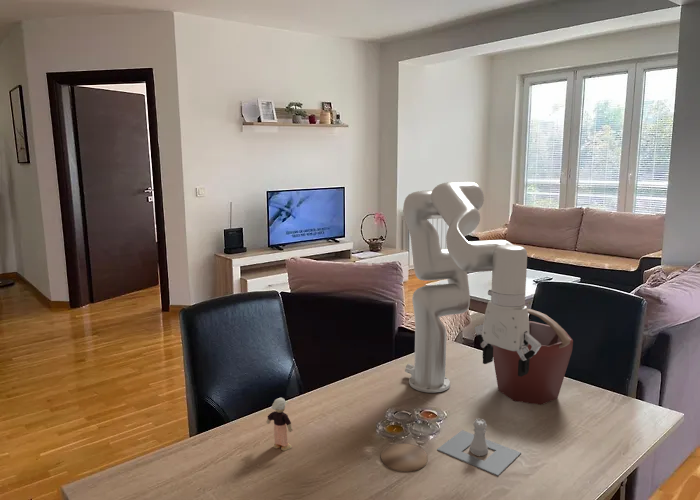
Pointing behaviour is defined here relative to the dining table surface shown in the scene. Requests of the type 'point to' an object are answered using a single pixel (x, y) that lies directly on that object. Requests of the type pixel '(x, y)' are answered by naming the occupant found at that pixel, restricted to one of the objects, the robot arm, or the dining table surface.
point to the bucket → (535, 364)
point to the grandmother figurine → (280, 424)
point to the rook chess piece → (479, 439)
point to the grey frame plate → (492, 464)
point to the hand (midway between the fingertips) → (504, 368)
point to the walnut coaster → (404, 457)
